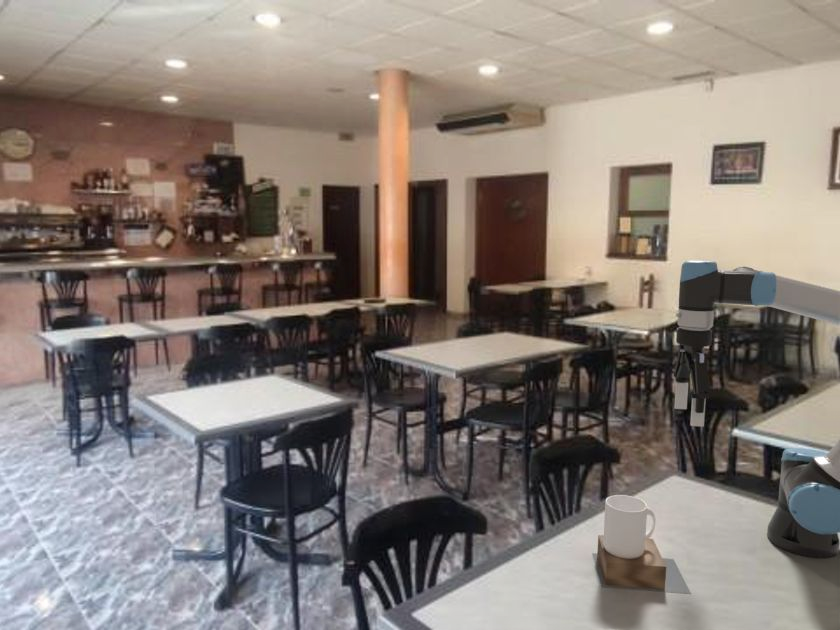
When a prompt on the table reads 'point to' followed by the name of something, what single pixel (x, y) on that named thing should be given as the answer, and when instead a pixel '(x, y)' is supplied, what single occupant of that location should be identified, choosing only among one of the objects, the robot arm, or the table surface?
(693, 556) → the table surface
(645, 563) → the walnut block
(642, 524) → the mug
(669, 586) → the slate tile
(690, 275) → the robot arm
